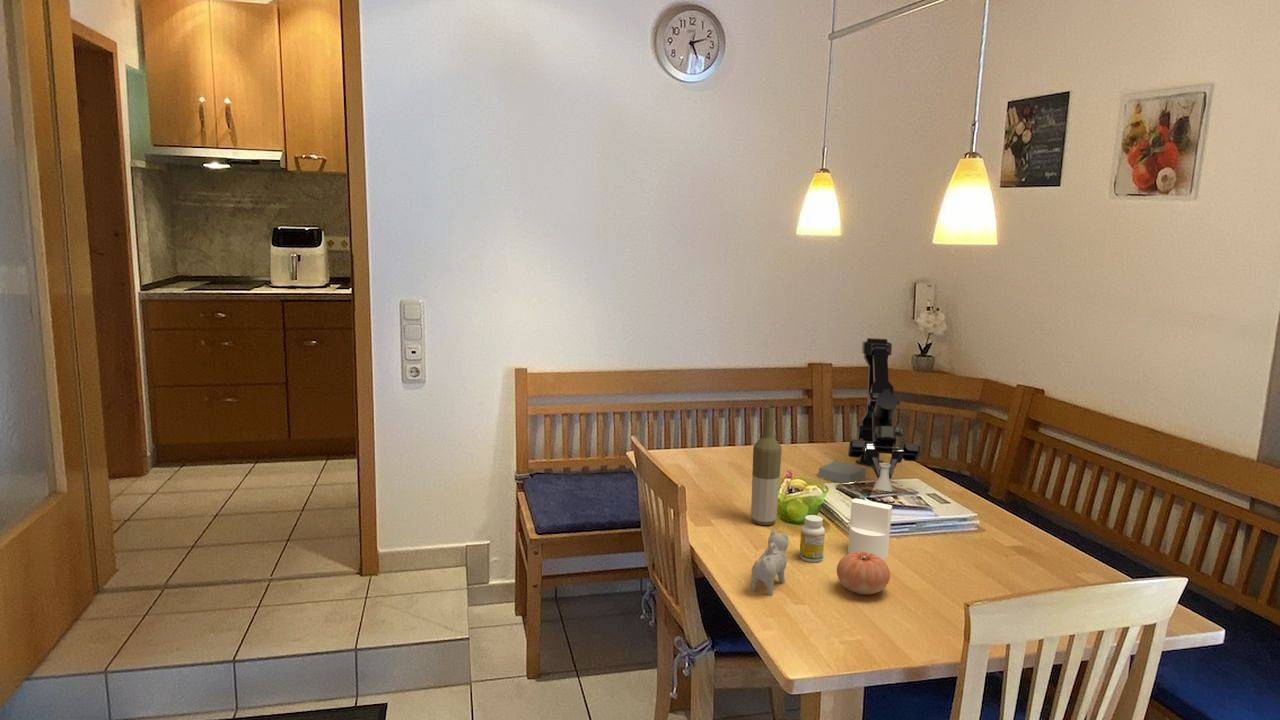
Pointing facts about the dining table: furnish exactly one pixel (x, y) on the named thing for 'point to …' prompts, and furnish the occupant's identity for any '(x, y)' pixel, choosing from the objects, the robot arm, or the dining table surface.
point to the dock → (842, 472)
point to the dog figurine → (771, 562)
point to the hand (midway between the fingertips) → (884, 477)
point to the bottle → (766, 473)
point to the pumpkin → (863, 572)
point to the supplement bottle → (812, 539)
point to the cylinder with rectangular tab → (869, 527)
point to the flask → (884, 478)
